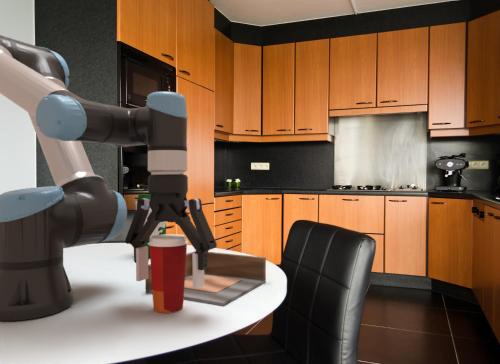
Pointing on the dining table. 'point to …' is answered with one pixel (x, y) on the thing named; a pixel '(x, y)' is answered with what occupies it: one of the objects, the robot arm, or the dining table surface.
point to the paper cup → (168, 271)
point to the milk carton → (160, 227)
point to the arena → (222, 278)
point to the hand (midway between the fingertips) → (169, 283)
